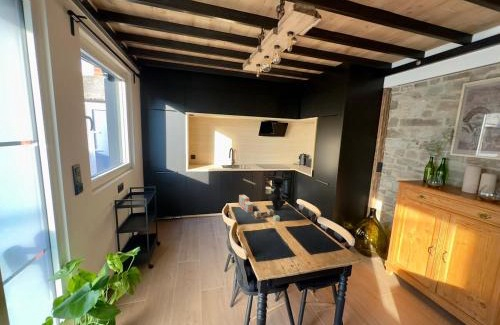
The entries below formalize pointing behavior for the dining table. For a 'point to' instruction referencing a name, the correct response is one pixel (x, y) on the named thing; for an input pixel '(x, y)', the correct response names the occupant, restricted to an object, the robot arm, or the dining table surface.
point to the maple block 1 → (257, 213)
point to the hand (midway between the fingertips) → (276, 208)
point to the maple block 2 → (270, 211)
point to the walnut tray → (263, 215)
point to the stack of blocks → (245, 203)
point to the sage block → (276, 218)
